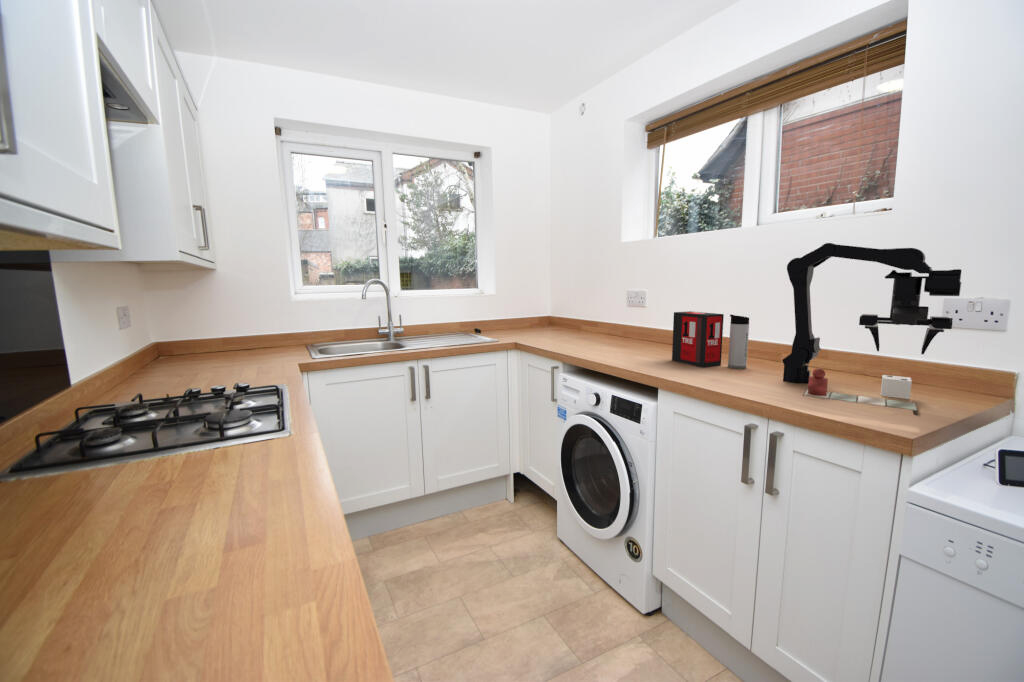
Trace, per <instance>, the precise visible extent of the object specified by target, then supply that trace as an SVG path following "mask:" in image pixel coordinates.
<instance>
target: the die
mask: <svg viewBox="0 0 1024 682" xmlns="http://www.w3.org/2000/svg"><path fill="white" fill-rule="evenodd" d="M880 385H881V387H880V396H881V397H889V398H896V399H897V398H898V399H903V400H910V399H911V391H912V385H913V381H912V377H910V376H909V377H908V376H899V375H887V374H882V376H881V384H880Z"/></svg>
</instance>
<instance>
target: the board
mask: <svg viewBox="0 0 1024 682" xmlns="http://www.w3.org/2000/svg"><path fill="white" fill-rule="evenodd" d="M802 396H805V397H812V398H817V399H819V398H820V399H826V400H832V401H833V400H835V401H841V402H849V403H857V404H863V405H871V406H878V407H879V406H880V407H885V408H893V409H901V410H907V411H908V410H909V411H912V414H913V415H915V416H917V415H918V414H919V409H918V405H917V403H916V402H912V401H904V400H896V399H890V398H888V399H887V398H881V397H880V398H879V397H871V396H864V395H855V394H848V393H839V392H834V391H827V395H825V396H818V395H812V394H809V393H808V388H806V389H805V391H804V392H803V394H802Z"/></svg>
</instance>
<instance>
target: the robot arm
mask: <svg viewBox="0 0 1024 682" xmlns="http://www.w3.org/2000/svg"><path fill="white" fill-rule="evenodd" d="M831 258H841V259H848V260H856V261H857V260H858V261H863V262H864V261H865V262H873V263H879V264H883V265H886V266H890V267H893V268H897V269H900V270H905V271H914V272H916V273H917V274H928V275H925V276H922V275H921V276H917V275H916V276H914V275H913V274H912V272H905V271H904V272H901V271H900V272H898V271H897V270H895V269H892V270H891V271H890V272H889V273H888V274H886V275H885V276H884V279H891V280H893V284H892V285H893V286H892V295H891V303H890V304H891V305H890V312H889V313H890V314H889V317H887V316H886V317H885V316H884V317H881V316H879V314H869V313H862V314H861V315H860V316H859V322H858V325H859V326H864V329H866V330H867V329H868V330H869V331H870V333H871V336H872V339H873V341H874V345H875V348H876V351H877V352H880V333H879V324H880V325H886V324H887V325H897V326H899V325H900V326H901V325H902V326H903V325H907V326H928V327H926V331H925V335H924V337H923V338H924V339H923V342H922V346H921V352H920V353H921V354H920V355H924V354H925V352H927V349H928V347H929V346H930V343H932V341H933V339H934V338H935V337H936V336H937V334H939V333H945V330H952V329H953V319H951V318H950V317H948V316H935V315H934V316H930V317H929V309H930V307H929V306H924V305H923V306H920V302H921V293H922V283H923V279H924V288H923V292H924V293H929V296H930V297H960V293H961V288H962V287H961V286H962V281H961V279H962V269H961V268H960V269H959V268H958V269H956V268H955V269H954V268H953V269H949V270H947V269H946V270H944V269H942V270H939V269H938V270H933V269H932V267H931V266H929V265H928V263H926V254H925V253H924V252H923V251H922V250H921V249H918V248H913V247H901V248H899V247H898V248H897V247H896V248H873V247H863V246H853V245H847V244H846V245H843V244H836V243H831V242H826V243H823V244H822V245H821V246H820V247H818V248H816V249H814V250H812V251H810V252H808V253H806V254H804V255H803V256H801V257H795V258H792V259H791V260H790V261H789V262H788V263H787V265H786V271H787V274H788V278H789V281H790V283H791V287H792V288H793V307H794V324H795V326H794V327H795V335H794V338H793V341H792V346H791V353H789V354H788V355H787V356H785V357H784V358H782V363H783V378H782V382H787V383H792V384H809V377H811V370H810V369H809V366H810V365H809V364H810V362H811V361H812V360H814V359H816V357H818V355H819V352H820V351H822V349H821V347H820V341H821V337H815V335H814V333H813V327H812V326H813V324H812V310H811V309H812V308H811V307H812V305H811V283H812V281H813V276H814V269H815V268H817V267H819V266H820V265H822V264H823V263H825V262H826V261H827V260H829V259H831ZM928 317H929V318H928Z"/></svg>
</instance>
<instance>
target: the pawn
mask: <svg viewBox="0 0 1024 682" xmlns="http://www.w3.org/2000/svg"><path fill="white" fill-rule="evenodd" d="M811 373H812V375H811V376H810V377H809V384H808V386H807V389H808V393H809V394H812V395H818V396H825V395H827V392H828V382H829V379H828V378H827V377H826V371H825V370H824V369H822V368H820V367H818V368H815V369H813V371H812V372H811Z"/></svg>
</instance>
